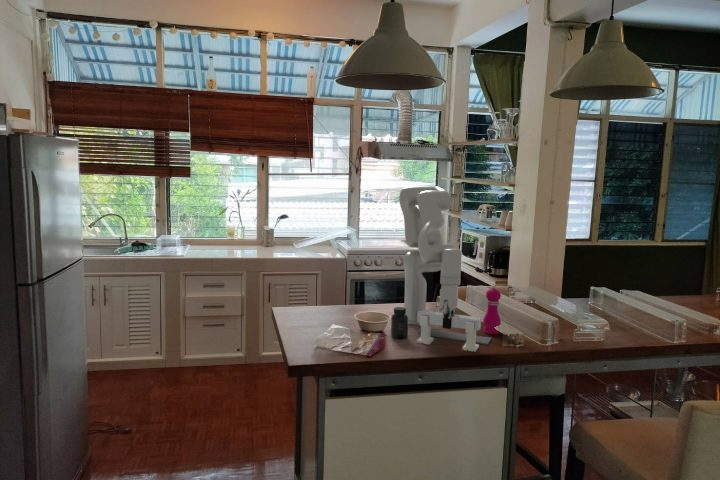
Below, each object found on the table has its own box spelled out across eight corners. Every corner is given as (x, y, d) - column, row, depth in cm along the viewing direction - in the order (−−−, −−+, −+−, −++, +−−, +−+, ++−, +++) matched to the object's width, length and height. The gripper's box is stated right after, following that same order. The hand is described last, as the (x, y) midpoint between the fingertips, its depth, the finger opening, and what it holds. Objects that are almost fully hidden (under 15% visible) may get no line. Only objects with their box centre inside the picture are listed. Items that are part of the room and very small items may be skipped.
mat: (418, 334, 223) (418, 333, 223) (424, 329, 231) (424, 328, 231) (487, 345, 212) (487, 343, 212) (491, 339, 219) (491, 337, 219)
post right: (461, 350, 206) (463, 321, 204) (466, 344, 212) (467, 317, 210) (475, 352, 204) (476, 323, 202) (479, 346, 210) (480, 319, 208)
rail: (417, 322, 213) (417, 312, 213) (420, 319, 217) (420, 309, 216) (478, 330, 204) (478, 320, 203) (480, 327, 207) (481, 317, 207)
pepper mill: (500, 335, 225) (503, 287, 222) (482, 333, 226) (485, 286, 224) (499, 330, 232) (502, 284, 229) (482, 328, 233) (484, 283, 231)
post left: (416, 342, 213) (417, 315, 212) (422, 338, 219) (422, 311, 218) (428, 344, 211) (429, 317, 209) (433, 339, 217) (435, 313, 216)
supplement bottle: (409, 335, 222) (410, 307, 220) (405, 340, 215) (406, 311, 214) (393, 333, 224) (394, 305, 222) (388, 338, 217) (389, 309, 216)
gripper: (446, 275, 217) (444, 319, 220) (434, 283, 202) (432, 331, 204) (465, 277, 214) (463, 322, 216) (454, 285, 199) (452, 334, 201)
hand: (448, 326), depth 210 cm, fingers closed on rail, 4 cm apart
